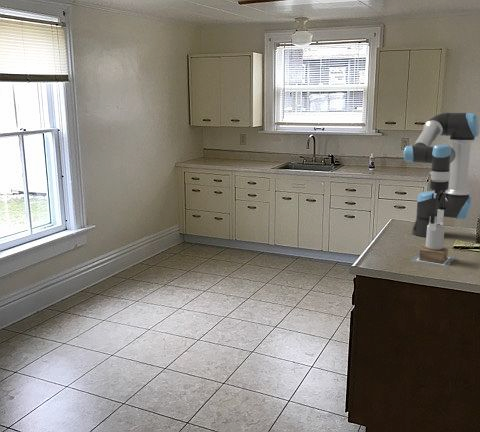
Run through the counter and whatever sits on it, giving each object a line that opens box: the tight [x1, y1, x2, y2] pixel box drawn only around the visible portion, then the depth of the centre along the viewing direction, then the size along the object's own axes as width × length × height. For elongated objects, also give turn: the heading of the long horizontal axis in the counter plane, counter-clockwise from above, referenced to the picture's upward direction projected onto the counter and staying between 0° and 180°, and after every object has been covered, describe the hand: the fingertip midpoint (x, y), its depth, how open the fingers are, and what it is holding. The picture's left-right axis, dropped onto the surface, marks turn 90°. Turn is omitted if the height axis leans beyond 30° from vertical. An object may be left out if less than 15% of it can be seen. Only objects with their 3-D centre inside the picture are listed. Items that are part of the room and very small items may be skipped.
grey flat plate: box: [409, 252, 457, 268], centre depth 239 cm, size 18×16×1 cm
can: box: [425, 222, 445, 250], centre depth 236 cm, size 8×8×12 cm
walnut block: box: [419, 244, 449, 264], centre depth 238 cm, size 10×10×5 cm
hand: (436, 226), depth 236 cm, fingers open, 13 cm apart
